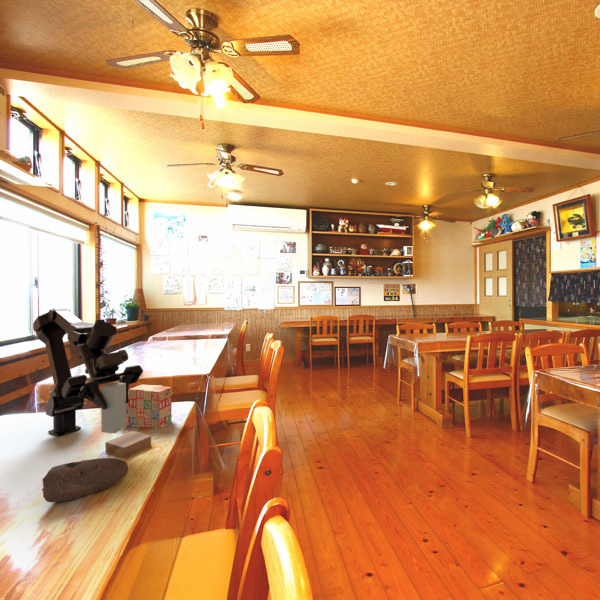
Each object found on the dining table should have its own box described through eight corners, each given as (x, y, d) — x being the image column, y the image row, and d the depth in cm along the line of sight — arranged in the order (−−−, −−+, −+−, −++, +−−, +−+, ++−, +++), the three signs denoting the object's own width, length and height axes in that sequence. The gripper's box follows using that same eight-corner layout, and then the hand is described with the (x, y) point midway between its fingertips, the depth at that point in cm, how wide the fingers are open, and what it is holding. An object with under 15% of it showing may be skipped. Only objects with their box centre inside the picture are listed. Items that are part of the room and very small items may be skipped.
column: (101, 432, 80) (101, 386, 80) (113, 426, 84) (113, 382, 84) (114, 433, 79) (114, 387, 79) (126, 427, 83) (125, 383, 83)
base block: (105, 453, 83) (105, 442, 83) (132, 441, 91) (132, 431, 91) (124, 459, 80) (124, 447, 80) (151, 446, 87) (150, 435, 87)
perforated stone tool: (128, 475, 72) (127, 446, 72) (129, 487, 67) (128, 455, 67) (45, 497, 64) (45, 464, 64) (40, 512, 59) (40, 476, 59)
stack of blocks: (106, 423, 104) (106, 387, 104) (122, 416, 110) (121, 382, 110) (159, 429, 98) (158, 391, 98) (172, 422, 104) (172, 386, 104)
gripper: (66, 345, 76) (87, 397, 70) (139, 338, 92) (161, 379, 86) (53, 373, 80) (72, 424, 74) (125, 361, 96) (145, 402, 90)
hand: (116, 405), depth 81 cm, fingers closed on column, 5 cm apart
